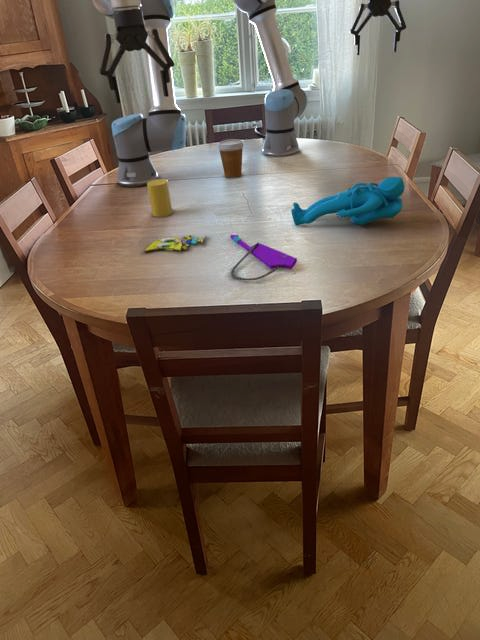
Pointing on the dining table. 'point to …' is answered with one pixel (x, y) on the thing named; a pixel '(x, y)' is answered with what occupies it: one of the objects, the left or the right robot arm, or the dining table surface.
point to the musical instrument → (264, 257)
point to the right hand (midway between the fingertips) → (376, 53)
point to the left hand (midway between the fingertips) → (142, 99)
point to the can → (159, 197)
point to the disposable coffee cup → (231, 156)
